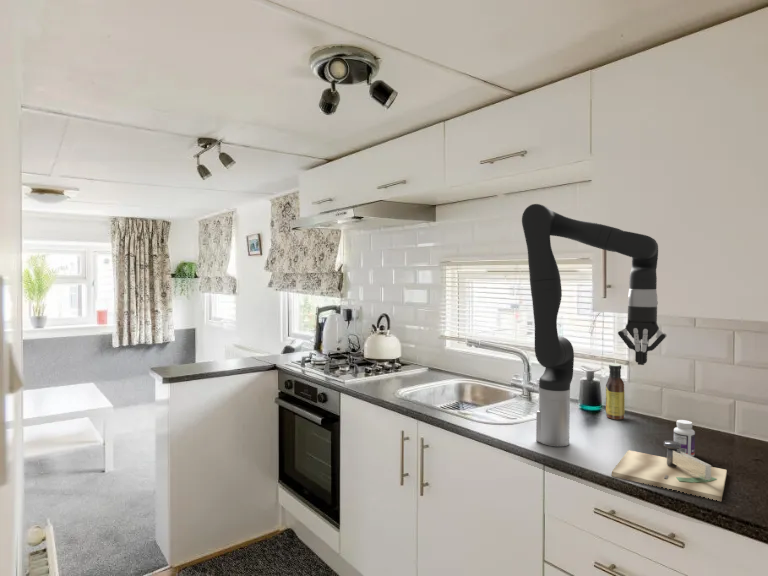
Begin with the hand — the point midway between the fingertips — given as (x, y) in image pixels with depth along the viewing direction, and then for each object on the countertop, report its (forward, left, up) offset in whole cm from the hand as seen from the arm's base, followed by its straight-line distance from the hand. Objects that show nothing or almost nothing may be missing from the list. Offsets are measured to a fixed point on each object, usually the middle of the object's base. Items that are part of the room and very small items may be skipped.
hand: (641, 364), depth 145 cm
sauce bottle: (-15, +37, -27) cm, 48 cm away
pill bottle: (+10, +10, -27) cm, 31 cm away
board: (+9, -10, -27) cm, 30 cm away
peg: (+13, -9, -26) cm, 30 cm away
